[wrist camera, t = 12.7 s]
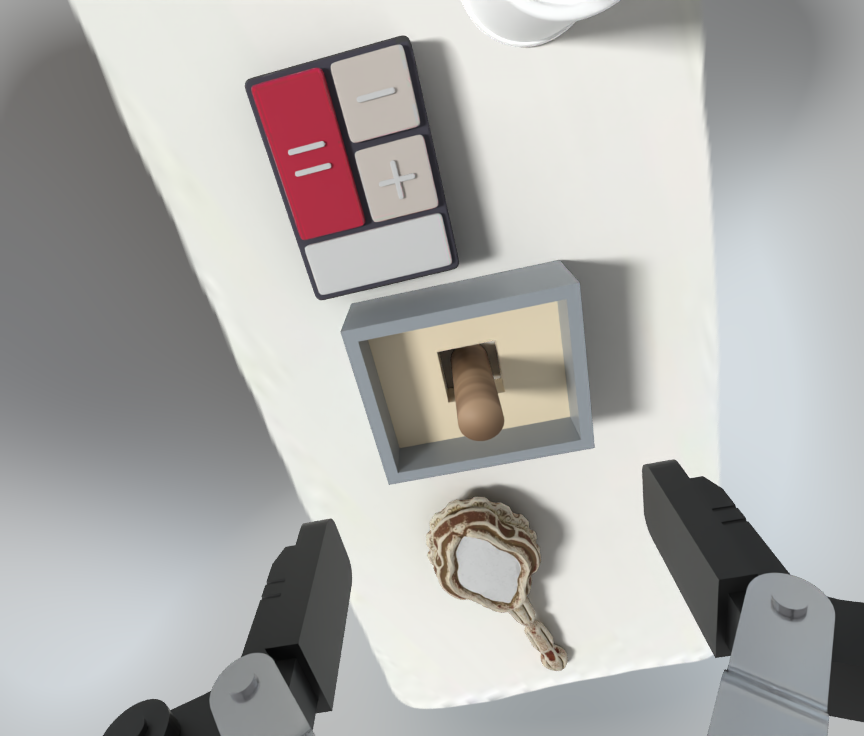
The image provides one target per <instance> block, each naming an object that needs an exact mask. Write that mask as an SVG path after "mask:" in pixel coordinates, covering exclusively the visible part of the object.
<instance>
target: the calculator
mask: <svg viewBox="0 0 864 736" xmlns="http://www.w3.org/2000/svg"><path fill="white" fill-rule="evenodd" d="M245 89H246V92H247V95H248V98H249V101H250V104H251V107H252V110H253V113H254V116H255V119H256V122H257V125H258V128H259V131H260V134H261V137H262V140H263V143H264V146H265V149H266V152H267V154H268V157H269V160H270V163H271V166H272V169H273V172H274V175H275V178H276V181H277V184H278V187H279V190H280V193H281V196H282V199H283V202H284V205H285V208H286V211H287V214H288V217H289V219H290V222H291V225H292V228H293V231H294V234H295V237H296V240H297V243H298V246H299V249H300V252H301V255H302V258H303V261H304V264H305V267H306V270H307V273H308V276H309V279H310V282H311V284H312V287H313V290H314V293H315V296H316V298H317V299H319V300H326V299H330V298H335V297H339V296H343V295H347V294H351V293H356V292H360V291H364V290H368V289H372V288H377V287H381V286H385V285H389V284H394V283H398V282H402V281H406V280H410V279H415V278H419V277H423V276H427V275H432V274H436V273H440V272H444V271H448V270H452V269H455V268H457V267H458V265H459V260H458V255H457V250H456V246H455V241H454V236H453V232H452V227H451V223H450V218H449V214H448V209H447V204H446V200H445V195H444V191H443V186H442V182H441V177H440V173H439V168H438V163H437V159H436V154H435V150H434V145H433V141H432V136H431V132H430V127H429V122H428V118H427V113H426V109H425V104H424V100H423V95H422V91H421V86H420V81H419V77H418V72H417V68H416V63H415V59H414V54H413V50H412V45H411V42H410V40H409V38H408V37H406V36H398V37H395V38H391V39H388V40H384V41H381V42H377V43H374V44H370V45H367V46H363V47H359V48H356V49H352V50H349V51H345V52H342V53H338V54H335V55H331V56H328V57H324V58H321V59H317V60H314V61H310V62H306V63H303V64H299V65H296V66H292V67H289V68H285V69H282V70H278V71H275V72H271V73H268V74H264V75H260V76H257V77H253V78H250V79H248V80H247V81H246V83H245Z"/></svg>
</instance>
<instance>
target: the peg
mask: <svg viewBox="0 0 864 736" xmlns="http://www.w3.org/2000/svg"><path fill="white" fill-rule="evenodd" d="M451 366H452V375H453V384H454V393H455V402H456V410H457V419H458V427H459V429H460V431H461V433H462V434H463V435H464V436H465V437H467V438H469V439H471V440H474V441H486V440H489V439H492V438H494V437H495V436H497V435H498V434H499V433H500V431H501V430H502V428H503V426H504V415H503V411H502V407H501V404H500V400H499V396H498V392H497V389H496V385H495V381H494V377H493V374H492V370H491V366H490V362H489V359H488V355H487V352H486V350H485V349H484V348H483V347H482V346H481V345H479V344H475V345H470V346H465V347H460V348H456V349H455V350H454V351H453V353H452V356H451Z"/></svg>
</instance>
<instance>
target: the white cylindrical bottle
mask: <svg viewBox="0 0 864 736" xmlns="http://www.w3.org/2000/svg"><path fill="white" fill-rule="evenodd" d="M619 1H620V0H461V2H462V4H463V6H464V8H465V10H466V12H467V14H468V15H469V17H470V18H471V20H472V21H473V22H474V23H475V25H476V26H477V27H478V28H479V29H480V30H481V31H482V32H483V33H485V34H486V35H487V36H489V37H490V38H492V39H493V40H495V41H497V42H500V43H502V44H505V45H509V46H514V47H532V46H537V45H541V44H544V43H546V42H549V41H551V40H553V39H555V38H557V37H558V36H560V35H561V34H563V33H564V32H565V31H567V30H568V29H569V28H570V27H571V26H572V25H573V24H574V23H575V22H576V21H578V20H582V19H586V18H589V17H592V16H594V15H597V14H599V13H601V12H603V11H605V10H607V9H608V8H610V7H612V6H613V5H615V4H616V3H618V2H619Z"/></svg>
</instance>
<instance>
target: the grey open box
mask: <svg viewBox="0 0 864 736" xmlns="http://www.w3.org/2000/svg"><path fill="white" fill-rule="evenodd" d="M341 335H342V338H343V341H344V344H345V347H346V351H347V354H348V357H349V360H350V363H351V366H352V369H353V373H354V376H355V379H356V382H357V385H358V388H359V392H360V395H361V398H362V401H363V404H364V407H365V411H366V414H367V417H368V420H369V423H370V426H371V430H372V433H373V436H374V439H375V442H376V445H377V449H378V452H379V455H380V458H381V461H382V464H383V468H384V471H385V474H386V477H387V480H388V483H389V485H390V484H396V483H402V482H407V481H413V480H418V479H424V478H429V477H435V476H441V475H446V474H452V473H457V472H463V471H468V470H474V469H480V468H485V467H491V466H496V465H502V464H508V463H513V462H519V461H524V460H530V459H535V458H541V457H547V456H552V455H558V454H563V453H569V452H574V451H580V450H586V449H591V448H595V445H594V434H593V423H592V412H591V401H590V390H589V379H588V368H587V357H586V346H585V335H584V324H583V313H582V302H581V291H580V282H579V281H578V280H577V279H576V278H575V277H574V276H573V275H572V273H571V272H570V271H569V270H568V269H567V268H566V267H565V266H564V264H563V263H562V262H561V261H560V260H557V261H552V262H548V263H543V264H538V265H533V266H529V267H524V268H519V269H514V270H510V271H505V272H500V273H495V274H491V275H486V276H481V277H476V278H472V279H467V280H462V281H457V282H453V283H448V284H443V285H438V286H434V287H429V288H424V289H419V290H415V291H410V292H405V293H400V294H396V295H391V296H386V297H381V298H377V299H372V300H367V301H362V302H358V303H353V304H351V306H350V309H349V311H348V314H347V317H346V319H345V322H344V324H343V327H342V330H341ZM490 341H495V346H496V352H497V358H498V363H499V369H500V375H501V378H499V379H494V381H495V385H496V389H497V392H498V396H499V400H500V404H501V407H502V411H503V415H504V426H503V428H502V430H501V431H500V433H499V434H498V435H497V436H495V437H494V438H492V439H489V440H486V441H474V440H471V439H469V438H467V437H465V436H464V435H463V434H462V433H461V431H460V429H459V427H458V419H457V410H456V402H455V393H454V387H453V388H448V389H447V385H446V380H445V376H444V372H443V367H442V363H441V358H440V354H439V352H440V351H445V350H450V349H455V348H460V347H465V346H470V345H475V344H480V343H485V342H490Z"/></svg>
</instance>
